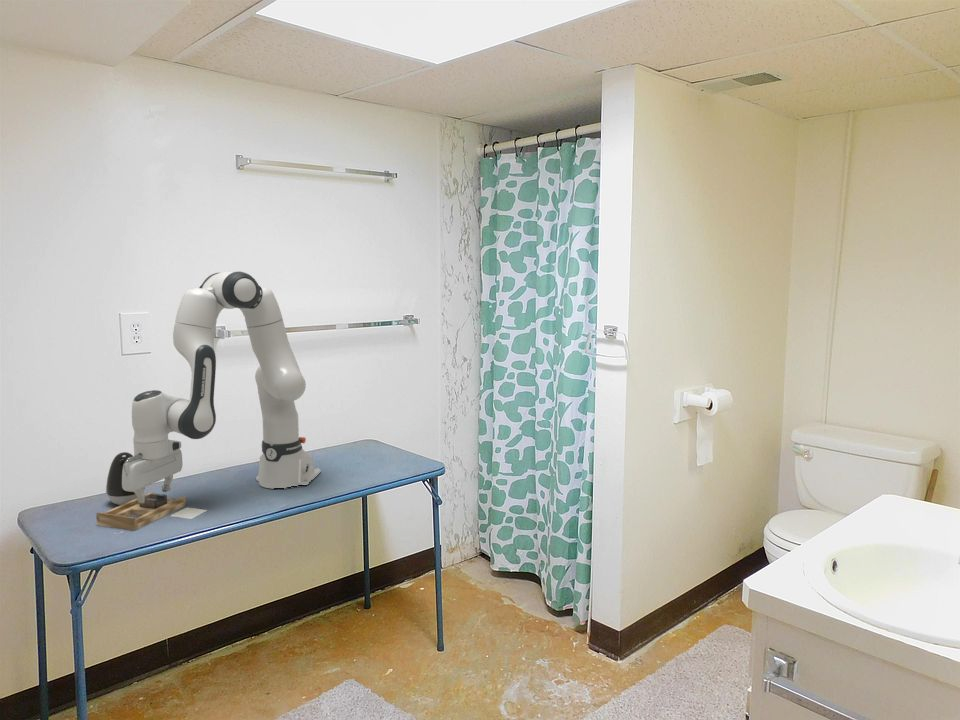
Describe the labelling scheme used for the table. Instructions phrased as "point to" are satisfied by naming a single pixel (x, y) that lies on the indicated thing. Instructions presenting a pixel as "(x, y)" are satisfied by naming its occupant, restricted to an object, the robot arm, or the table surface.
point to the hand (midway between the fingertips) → (154, 496)
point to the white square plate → (189, 513)
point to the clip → (154, 501)
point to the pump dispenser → (118, 481)
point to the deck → (119, 519)
